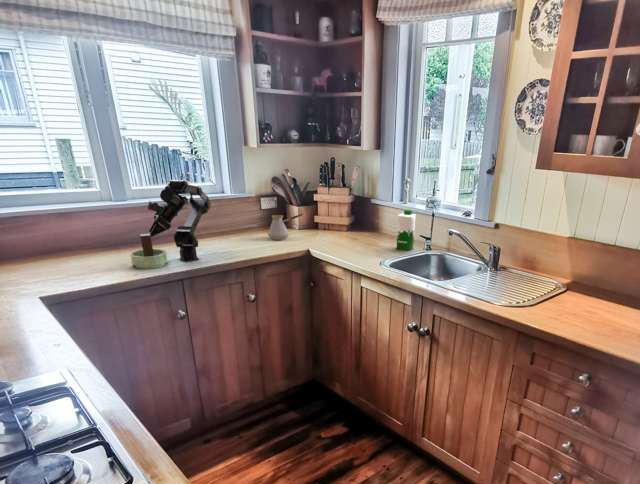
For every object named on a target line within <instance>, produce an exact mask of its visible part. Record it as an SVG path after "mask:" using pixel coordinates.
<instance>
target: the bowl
mask: <svg viewBox="0 0 640 484" xmlns="http://www.w3.org/2000/svg"><path fill="white" fill-rule="evenodd" d="M153 253H154V256H147V257H144V254H143V249H138V250H133V251H131V252H130V253H129V257H130V262H131V264H132V265H134V267H135V268H137V269H143V270H144V269H145V270H150V269H158V268H161V267H164V266H165V265H166V263H167V262H168V254H167V251H166V249H165V250H164V249H161V248H153Z"/></svg>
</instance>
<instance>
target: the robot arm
mask: <svg viewBox="0 0 640 484" xmlns="http://www.w3.org/2000/svg"><path fill="white" fill-rule="evenodd" d="M183 195H184V196H183ZM185 195H190V197H189V198H188V197H187V196H185ZM193 196H199V198H197V197H193ZM159 198H160V199H161V200H162V201H163V202H164V204H163V205H162V204H159V202H156V201H152V200H149V201H148V203H147V206H146V207H147V210H150V211H153V212H154V214H153V219H154V221H153V222H152V225H151V226H150V228H149V230H148V231H149V234H150V236H151V238H153V237H155V236H157V235H159V234H161V233H164V232H166V231H169V230H170V229H171V227H172V224H171V223H172V221H173V219H174V218H175V217H177V216H178V214H179V213H180V211H181V210H182V209H184V207H185V206H188V205H189V204H190V207H191V210H190V213H189V215H188V217H187V219H186V221H185V223H184V224H183V225H179V226H177V228H176V229H175V233H174V235H173V240H174V243H175V246H176V248H179V260H181V261H183V262H186V263H187V262H192V261H197V260H199V259H200V258H199V257H198V255H197V248H198V247H199V240H198V239H197V237H196V236H195V231H196V229H197V227H198V224H199V223H200V220H201V218H202V216H203V215H205V214H207V213H208V212H209V211H210V209H211V206H212V205H211V201H210V198H209V196H208V195H207V194H206V193H205V192H204V191H203V188H202V187H201V186H198V185H197V186H196V185H192V184H189V182H188V181H186V180H183V179H182V180H180V179H179V180H178V179H170V180H169V182H168V183H167V185H165V187H164V188H163V189H162V190H161V191H160V193H159Z"/></svg>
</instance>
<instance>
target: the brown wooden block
mask: <svg viewBox="0 0 640 484" xmlns="http://www.w3.org/2000/svg"><path fill="white" fill-rule="evenodd" d="M139 236H140V243H141V248H142V250H143V254H144V257H147V256H154V253H153V249H154V247H153V243H152V242H153V241H152V237H151V236H150V233H140V234H139Z"/></svg>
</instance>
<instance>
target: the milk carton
mask: <svg viewBox="0 0 640 484" xmlns="http://www.w3.org/2000/svg"><path fill="white" fill-rule="evenodd" d="M416 216H417V214H416V213H415V214H414V213H413V210H412V209H404V210H403V212H402V213H399V214H397V227H396V228H397V229H396V250H401V251H408V252H409V251H410V250H411V249H413V247H414V242H415V229H416Z"/></svg>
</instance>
